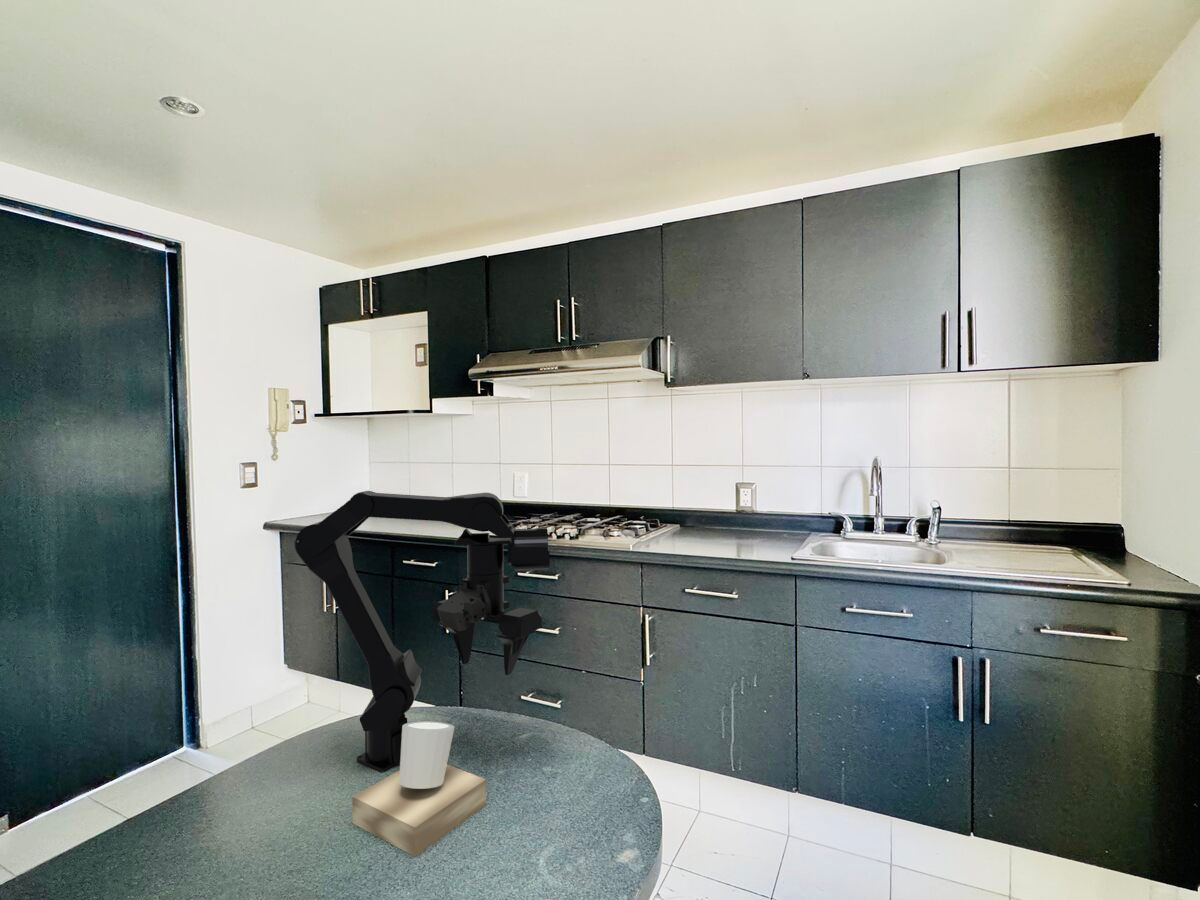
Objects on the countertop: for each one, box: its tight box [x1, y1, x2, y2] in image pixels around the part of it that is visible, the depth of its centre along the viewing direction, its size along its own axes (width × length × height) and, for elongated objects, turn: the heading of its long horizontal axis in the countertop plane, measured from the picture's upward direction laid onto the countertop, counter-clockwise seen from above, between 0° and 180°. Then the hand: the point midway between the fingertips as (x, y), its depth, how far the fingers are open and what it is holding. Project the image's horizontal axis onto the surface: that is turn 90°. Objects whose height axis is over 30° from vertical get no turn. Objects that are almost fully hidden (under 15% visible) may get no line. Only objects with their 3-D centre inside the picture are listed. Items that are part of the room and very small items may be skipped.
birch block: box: [351, 763, 487, 857], centre depth 78 cm, size 12×12×4 cm
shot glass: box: [399, 720, 455, 789], centre depth 79 cm, size 7×7×7 cm
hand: (486, 668), depth 95 cm, fingers open, 9 cm apart
